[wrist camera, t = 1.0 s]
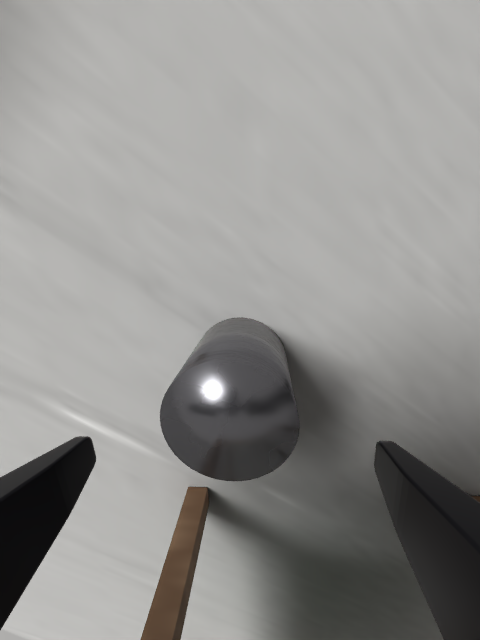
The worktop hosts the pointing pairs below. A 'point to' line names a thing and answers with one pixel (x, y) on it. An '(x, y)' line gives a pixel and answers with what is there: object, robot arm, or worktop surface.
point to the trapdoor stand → (180, 569)
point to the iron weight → (232, 404)
